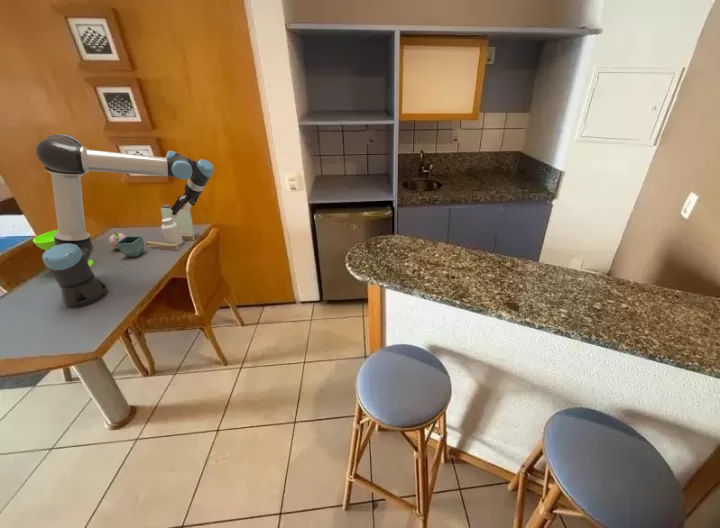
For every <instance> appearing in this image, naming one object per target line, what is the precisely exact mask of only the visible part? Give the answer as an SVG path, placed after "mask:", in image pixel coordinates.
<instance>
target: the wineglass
mask: <svg viewBox="0 0 720 528" xmlns="http://www.w3.org/2000/svg"><path fill="white" fill-rule="evenodd" d="M56 232H58V229H54V230H50V231H47V232H45V233H42V234H40V235H37V236H36V237H35V238H33V240H32V243H34V245H36V247H38V248H39V249H41V250H44V251H46V250H48V249H50V248H51V247H54V246H55V242H54V234H55V233H56ZM88 264H89V266H90V267H92V266H93V265H94V261H93V259H91V258H90V260H89V263H88Z"/></svg>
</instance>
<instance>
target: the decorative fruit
mask: <svg viewBox="0 0 720 528" xmlns="http://www.w3.org/2000/svg"><path fill="white" fill-rule="evenodd" d="M125 237H127V235H126V234H125V233H122V232H120V231H118V232H117V231H116V232H114V233H113V234H112V235H110V236H109V237H108V241H109V244H110V246H112V247H113V248H116V249H119V248H118V247H117V245H116V243H117V242H119V241H120V240H122V239H123V238H125Z"/></svg>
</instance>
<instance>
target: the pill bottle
mask: <svg viewBox="0 0 720 528" xmlns="http://www.w3.org/2000/svg"><path fill="white" fill-rule="evenodd" d="M161 223H162V225H161V227H160V229H161V230H162V234H163V236H165V237H164V238H165V240H166V243H170V244H177V245H178V246H181V245H183V243H184V240H183V239H182V236H181V234H182V233H180V231H179V228H178V225H177V224H176V223H175V222H173V219H172V218H165V219H163V218H162V219H161Z"/></svg>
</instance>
